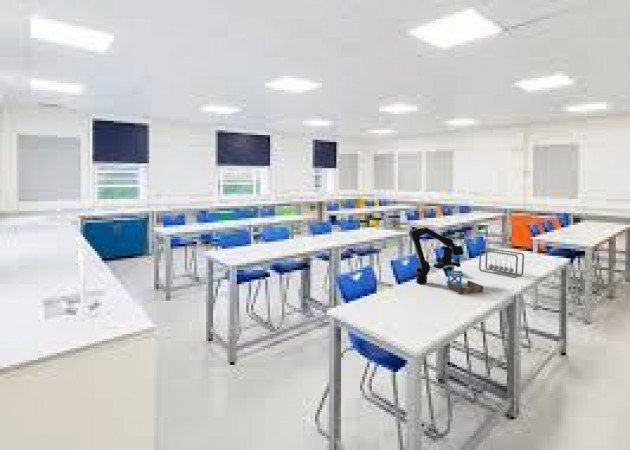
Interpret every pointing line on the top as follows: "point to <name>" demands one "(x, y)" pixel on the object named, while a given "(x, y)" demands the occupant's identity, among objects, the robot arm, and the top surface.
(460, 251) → the robot arm
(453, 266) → the test tube rack
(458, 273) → the molecular structure
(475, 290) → the box
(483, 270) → the newton's cradle
